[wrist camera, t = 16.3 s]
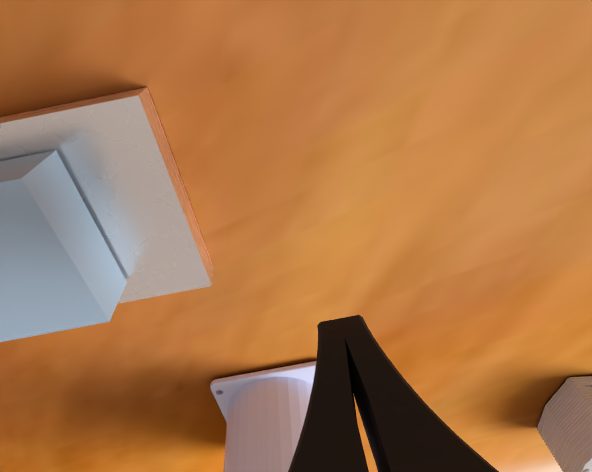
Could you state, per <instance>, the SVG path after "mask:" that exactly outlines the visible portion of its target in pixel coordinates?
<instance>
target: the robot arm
mask: <svg viewBox="0 0 592 472" xmlns="http://www.w3.org/2000/svg"><path fill="white" fill-rule="evenodd" d="M210 389H211V391H212V393H213V395H214V397H215V399H216V401H217V403H218V406H219V408H220V410H221V412H222V414H223V416H224V418H225V420H226V422H227V431H226V444H225V458H224V472H369V471H368V467H367V463H366V458H365V454H364V450H363V446H362V442H361V437H360V433H359V429H358V425H357V418H356V410H355V402H354V397H355V400H356V403H357V406H358V409H359V412H360V415H361V419H362V422H363V425H364V428H365V431H366V434H367V437H368V440H369V444H370V447H371V450H372V453H373V456H374V459H375V462H376V466H377V469H378V472H499V471H497V470H496V469H495V468H494V467H493V466H491V465H490V464H489V463H488V462H487V461H486V460H484V459H483V458H482V457H481V456H480V455H479V454H478V453H477V452H475V451H474V450H473V449H472V448H471V447H470V446H469V445H468V444H466V443H465V442H464V441H463V440H462V439H461V438H460V437H459V436H457V435H456V434H455V433H454V432H453V431H452V430H451V429H450V428H449V427H448V426H447V425H446V424H445V423H444V422H443V421H442V420H441V419H440V418H439V417H438V416H437V415H436V414H435V413H434V412H433V411H432V410H431V409H430V408H429V407H428V405H427V404H426V403H425V402H424V401H423V400H422V399H421V398H420V397H419V396H418V394H417V393H416V392H415V391H414V390H413V389H412V387H411V386H410V385H409V384H408V383H407V382H406V380H405V379H404V378H403V377H402V375H401V374H400V373H399V372H398V370H397V369H396V368H395V367H394V365H393V364H392V363H391V361H390V360H389V359H388V357H387V356H386V355H385V353H384V352H383V350H382V349H381V348H380V346H379V345H378V343H377V342H376V340H375V338H374V337H373V335H372V334H371V332H370V330H369V329H368V327H367V325H366V323H365V321H364V319H363V317H361V316H360V315H356V316H351V317H345V318H340V319H335V320H329V321H324V322H320V323H319V324H318V351H317V361H314V362H308V363H303V364H297V365H292V366H286V367H281V368H275V369H270V370H264V371H259V372H253V373H248V374H242V375H237V376H231V377H226V378H220V379H215V380H213V381H212V382H211V385H210ZM353 393H354V395H353Z"/></svg>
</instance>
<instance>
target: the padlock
mask: <svg viewBox="0 0 592 472" xmlns="http://www.w3.org/2000/svg"><path fill="white" fill-rule="evenodd" d="M537 431H538V432H539V433H540V435H541V437H542V438H543V440H544V442H545V443H546V445H547V447H548V448H549V450H550V452H552V455H553V456H554V457H555V460H556V461H557V462H558V464H559V465H560V468H561V469H562V471H564V472H592V376H585V377H570V378H567V379H566V381H565V383H564V384H563V385H562V386H561V387H560V388H559V390H558V391H557V392H556V393H555V394H554V395H553V396H552V398H551V399H550V400H549V401H548V403H547V404H546V405H545V407H544V410H543V413H542V416H541V419H540V421H539V424H538V427H537Z"/></svg>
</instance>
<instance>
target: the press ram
mask: <svg viewBox="0 0 592 472" xmlns="http://www.w3.org/2000/svg"><path fill="white" fill-rule="evenodd" d="M126 283H127V281H126V279H125V278H124V276H123V274H122V272H121V270H120V268H119V266H118V265H117V263H116V261H115V259H114V257H113V255H112V253H111V252H110V250H109V248H108V246H107V244H106V242H105V240H104V239H103V237H102V235H101V233H100V231H99V229H98V227H97V226H96V224H95V222H94V220H93V218H92V216H91V214H90V213H89V211H88V209H87V207H86V205H85V203H84V201H83V199H82V198H81V196H80V194H79V192H78V190H77V188H76V186H75V185H74V183H73V181H72V179H71V177H70V175H69V173H68V172H67V170H66V168H65V166H64V164H63V162H62V160H61V159H60V157H59V155H58V153H57V151H56V150H55V151H50V152H45V153H40V154H35V155H30V156H25V157H20V158H15V159H10V160H5V161H0V342H4V341H9V340H14V339H20V338H25V337H30V336H36V335H41V334H46V333H52V332H57V331H62V330H68V329H73V328H78V327H84V326H89V325H94V324H100V323H105V322H110V319H111V317H112V315H113V313H114V310H115V308H116V306H117V304H118V301H119V299H120V297H121V295H122V292H123V290H124V288H125V286H126Z"/></svg>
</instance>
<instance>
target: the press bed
mask: <svg viewBox="0 0 592 472" xmlns="http://www.w3.org/2000/svg"><path fill="white" fill-rule="evenodd" d="M55 150H56V151H57V153H58V155H59V157H60V159H61V160H62V162H63V164H64V166H65V168H66V170H67V172H68V173H69V175H70V177H71V179H72V181H73V183H74V185H75V186H76V188H77V190H78V192H79V194H80V196H81V198H82V199H83V201H84V203H85V205H86V207H87V209H88V211H89V213H90V214H91V216H92V218H93V220H94V222H95V224H96V226H97V227H98V229H99V231H100V233H101V235H102V237H103V239H104V240H105V242H106V244H107V246H108V248H109V250H110V252H111V253H112V255H113V257H114V259H115V261H116V263H117V265H118V266H119V268H120V270H121V272H122V274H123V276H124V278H125V279H126V281H127V283H126V286H125V288H124V290H123V292H122V295H121V297H120V299H119V301H118V303H123V302H129V301H134V300H139V299H145V298H150V297H155V296H161V295H166V294H171V293H177V292H182V291H187V290H192V289H198V288H203V287H208V286H212V281H213V275H214V266H213V264H212V261H211V258H210V255H209V253H208V250H207V247H206V245H205V242H204V239H203V236H202V234H201V231H200V228H199V226H198V223H197V220H196V217H195V215H194V212H193V209H192V206H191V204H190V201H189V198H188V196H187V193H186V190H185V187H184V185H183V182H182V179H181V177H180V174H179V171H178V168H177V166H176V163H175V160H174V158H173V155H172V152H171V149H170V147H169V144H168V141H167V139H166V136H165V133H164V130H163V128H162V125H161V122H160V120H159V117H158V114H157V111H156V109H155V106H154V103H153V101H152V98H151V95H150V92H149V90H148V87H145V88H140V89H135V90H130V91H126V92H121V93H116V94H111V95H106V96H101V97H96V98H91V99H86V100H81V101H77V102H72V103H67V104H62V105H57V106H52V107H47V108H42V109H37V110H32V111H28V112H23V113H18V114H13V115H8V116H3V117H0V161H5V160H10V159H15V158H20V157H25V156H30V155H35V154H40V153H45V152H50V151H55Z"/></svg>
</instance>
